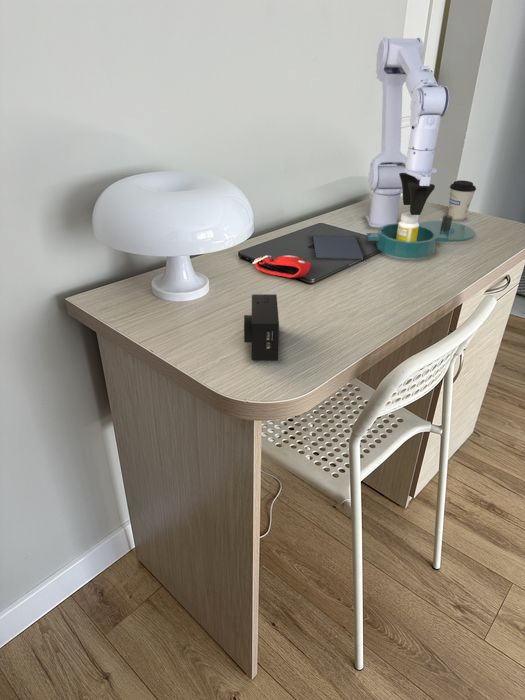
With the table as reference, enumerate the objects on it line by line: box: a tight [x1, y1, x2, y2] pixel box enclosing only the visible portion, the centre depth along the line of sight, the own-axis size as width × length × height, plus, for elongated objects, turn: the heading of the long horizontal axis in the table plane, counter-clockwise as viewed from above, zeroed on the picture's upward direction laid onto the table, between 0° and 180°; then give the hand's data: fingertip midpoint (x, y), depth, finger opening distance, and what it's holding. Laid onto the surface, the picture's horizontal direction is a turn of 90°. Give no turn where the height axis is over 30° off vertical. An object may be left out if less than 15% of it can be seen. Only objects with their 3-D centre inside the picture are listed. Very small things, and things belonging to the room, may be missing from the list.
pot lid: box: [419, 214, 475, 242], centre depth 133 cm, size 15×15×5 cm
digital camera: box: [243, 293, 280, 362], centre depth 85 cm, size 10×5×7 cm, turn 1°
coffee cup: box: [447, 179, 477, 220], centre depth 142 cm, size 7×7×10 cm
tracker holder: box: [252, 254, 312, 279], centre depth 111 cm, size 12×4×10 cm
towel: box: [312, 235, 364, 260], centre depth 125 cm, size 14×11×1 cm
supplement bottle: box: [396, 211, 420, 242], centre depth 122 cm, size 5×5×8 cm
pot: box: [365, 222, 448, 259], centre depth 123 cm, size 14×19×4 cm
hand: (411, 209), depth 119 cm, fingers open, 7 cm apart
